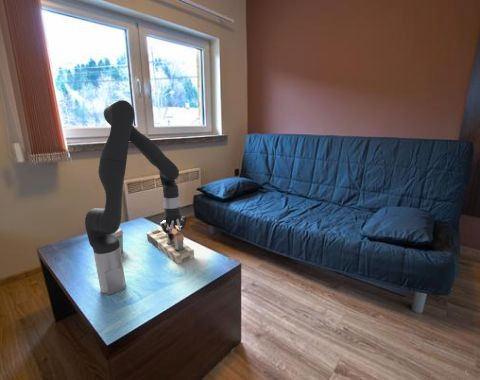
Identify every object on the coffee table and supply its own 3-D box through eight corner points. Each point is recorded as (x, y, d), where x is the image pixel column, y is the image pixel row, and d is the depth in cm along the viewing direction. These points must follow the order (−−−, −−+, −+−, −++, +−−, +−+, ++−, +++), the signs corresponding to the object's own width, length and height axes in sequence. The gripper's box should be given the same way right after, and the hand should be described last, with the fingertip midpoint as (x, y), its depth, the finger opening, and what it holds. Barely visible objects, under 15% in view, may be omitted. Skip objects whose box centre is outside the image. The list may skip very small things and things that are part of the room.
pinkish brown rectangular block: (184, 250, 126) (183, 234, 124) (178, 252, 124) (176, 236, 122) (173, 242, 135) (171, 227, 133) (167, 244, 133) (165, 228, 131)
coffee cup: (103, 253, 131) (100, 232, 128) (118, 246, 139) (115, 225, 136) (115, 257, 128) (111, 235, 124) (129, 250, 135) (126, 228, 132)
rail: (194, 257, 126) (193, 250, 125) (177, 264, 121) (176, 256, 120) (162, 234, 153) (161, 228, 152) (146, 239, 147) (146, 232, 146)
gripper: (161, 210, 117) (164, 245, 121) (189, 204, 126) (191, 237, 130) (154, 207, 123) (158, 240, 127) (181, 201, 131) (183, 232, 136)
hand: (174, 238), depth 128 cm, fingers closed on pinkish brown rectangular block, 3 cm apart
